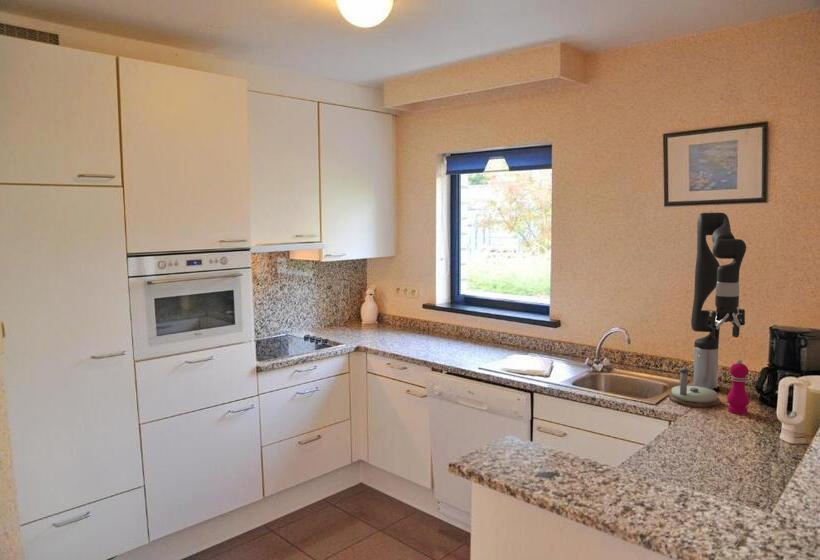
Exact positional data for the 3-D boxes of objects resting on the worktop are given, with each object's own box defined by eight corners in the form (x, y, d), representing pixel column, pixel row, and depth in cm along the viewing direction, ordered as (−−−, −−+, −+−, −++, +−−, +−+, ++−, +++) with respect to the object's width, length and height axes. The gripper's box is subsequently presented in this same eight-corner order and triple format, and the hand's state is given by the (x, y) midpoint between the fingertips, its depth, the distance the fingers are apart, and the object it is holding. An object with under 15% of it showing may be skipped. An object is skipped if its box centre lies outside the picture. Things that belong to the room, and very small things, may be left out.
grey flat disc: (662, 393, 243) (663, 389, 242) (708, 394, 241) (708, 390, 241) (678, 407, 225) (678, 403, 225) (727, 408, 223) (727, 403, 223)
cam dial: (665, 390, 242) (666, 361, 240) (707, 390, 240) (708, 361, 239) (680, 402, 225) (680, 372, 224) (724, 402, 224) (725, 372, 223)
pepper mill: (745, 409, 221) (747, 357, 219) (751, 415, 214) (753, 362, 212) (724, 408, 223) (726, 356, 221) (729, 414, 216) (731, 361, 214)
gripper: (735, 291, 217) (733, 334, 219) (703, 293, 213) (701, 337, 215) (751, 294, 210) (749, 338, 211) (718, 296, 206) (716, 341, 208)
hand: (725, 337), depth 213 cm, fingers open, 8 cm apart
